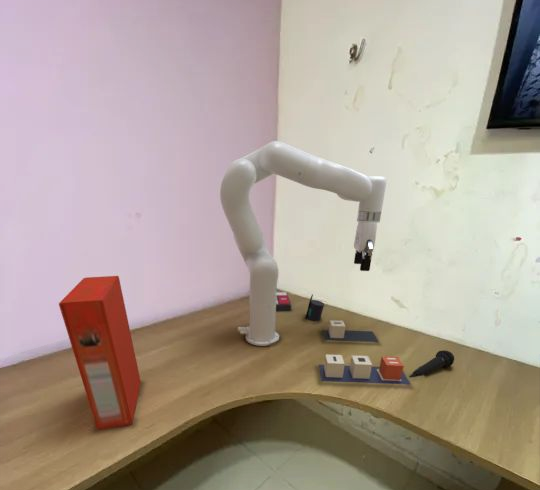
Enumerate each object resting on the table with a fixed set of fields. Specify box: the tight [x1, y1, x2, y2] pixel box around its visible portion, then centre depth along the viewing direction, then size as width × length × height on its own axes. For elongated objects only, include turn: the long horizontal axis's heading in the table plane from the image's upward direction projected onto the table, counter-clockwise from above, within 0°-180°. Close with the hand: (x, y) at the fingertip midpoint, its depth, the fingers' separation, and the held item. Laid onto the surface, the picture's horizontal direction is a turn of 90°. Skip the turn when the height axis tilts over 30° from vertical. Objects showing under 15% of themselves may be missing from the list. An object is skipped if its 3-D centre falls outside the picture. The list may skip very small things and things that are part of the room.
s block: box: [378, 356, 405, 380], centre depth 93 cm, size 5×5×5 cm
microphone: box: [408, 349, 455, 378], centre depth 98 cm, size 6×6×20 cm
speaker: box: [304, 294, 325, 322], centre depth 131 cm, size 8×6×10 cm
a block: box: [328, 319, 346, 338], centre depth 117 cm, size 5×5×5 cm
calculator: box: [276, 291, 292, 312], centre depth 147 cm, size 11×4×15 cm
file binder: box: [58, 275, 142, 431], centre depth 74 cm, size 8×17×32 cm, turn 14°
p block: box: [349, 355, 373, 379], centre depth 94 cm, size 5×5×5 cm
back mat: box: [321, 329, 379, 343], centre depth 118 cm, size 20×9×1 cm, turn 88°
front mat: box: [318, 364, 411, 385], centre depth 95 cm, size 26×9×1 cm, turn 88°
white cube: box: [323, 354, 346, 378], centre depth 94 cm, size 5×5×5 cm
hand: (361, 267), depth 112 cm, fingers open, 9 cm apart
